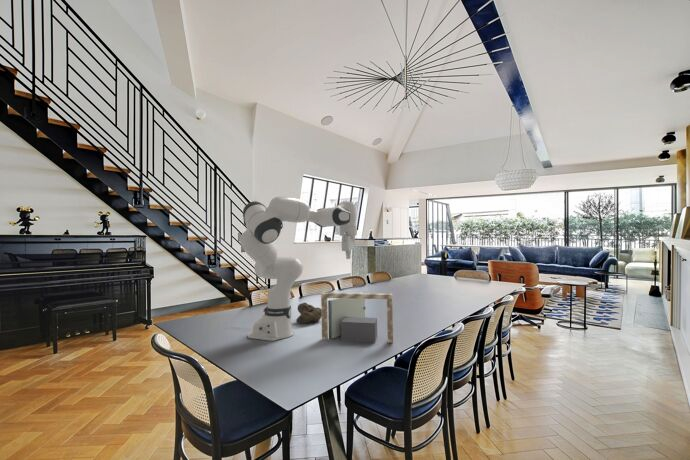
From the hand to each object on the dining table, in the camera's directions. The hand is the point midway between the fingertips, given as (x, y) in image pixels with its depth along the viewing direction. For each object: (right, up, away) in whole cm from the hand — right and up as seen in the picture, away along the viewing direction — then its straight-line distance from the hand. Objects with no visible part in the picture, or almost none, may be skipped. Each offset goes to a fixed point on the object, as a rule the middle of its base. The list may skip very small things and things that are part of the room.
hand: (348, 258), depth 161 cm
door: (0, -37, -5) cm, 37 cm away
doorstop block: (+5, -37, -14) cm, 40 cm away
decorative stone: (-22, -38, +17) cm, 47 cm away
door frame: (+5, -37, -17) cm, 41 cm away
